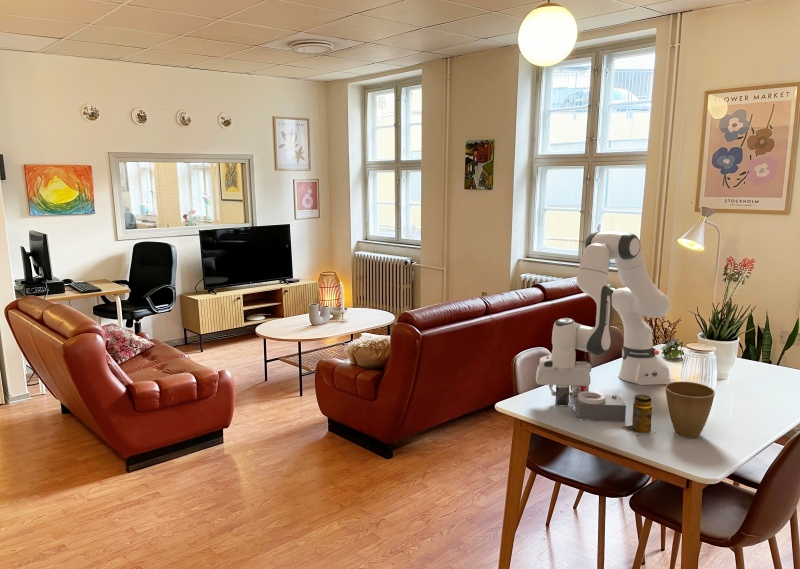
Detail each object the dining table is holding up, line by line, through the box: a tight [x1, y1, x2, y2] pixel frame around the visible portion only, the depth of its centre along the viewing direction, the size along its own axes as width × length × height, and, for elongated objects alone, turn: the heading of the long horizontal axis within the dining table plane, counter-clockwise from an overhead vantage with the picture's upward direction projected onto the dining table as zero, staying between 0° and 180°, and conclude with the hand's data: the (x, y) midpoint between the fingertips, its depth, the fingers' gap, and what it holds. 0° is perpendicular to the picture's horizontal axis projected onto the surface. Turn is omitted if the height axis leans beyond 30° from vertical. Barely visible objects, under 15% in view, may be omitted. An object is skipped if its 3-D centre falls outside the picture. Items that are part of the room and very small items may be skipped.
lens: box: [555, 385, 570, 406], centre depth 232 cm, size 5×5×8 cm
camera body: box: [574, 390, 627, 423], centre depth 219 cm, size 16×10×8 cm, turn 82°
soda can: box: [569, 385, 590, 396], centre depth 241 cm, size 7×7×12 cm
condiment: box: [621, 394, 657, 436], centre depth 206 cm, size 7×8×12 cm
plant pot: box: [664, 381, 716, 439], centre depth 201 cm, size 15×15×16 cm
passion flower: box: [660, 337, 685, 361], centre depth 289 cm, size 11×11×12 cm
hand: (562, 395), depth 232 cm, fingers open, 5 cm apart
